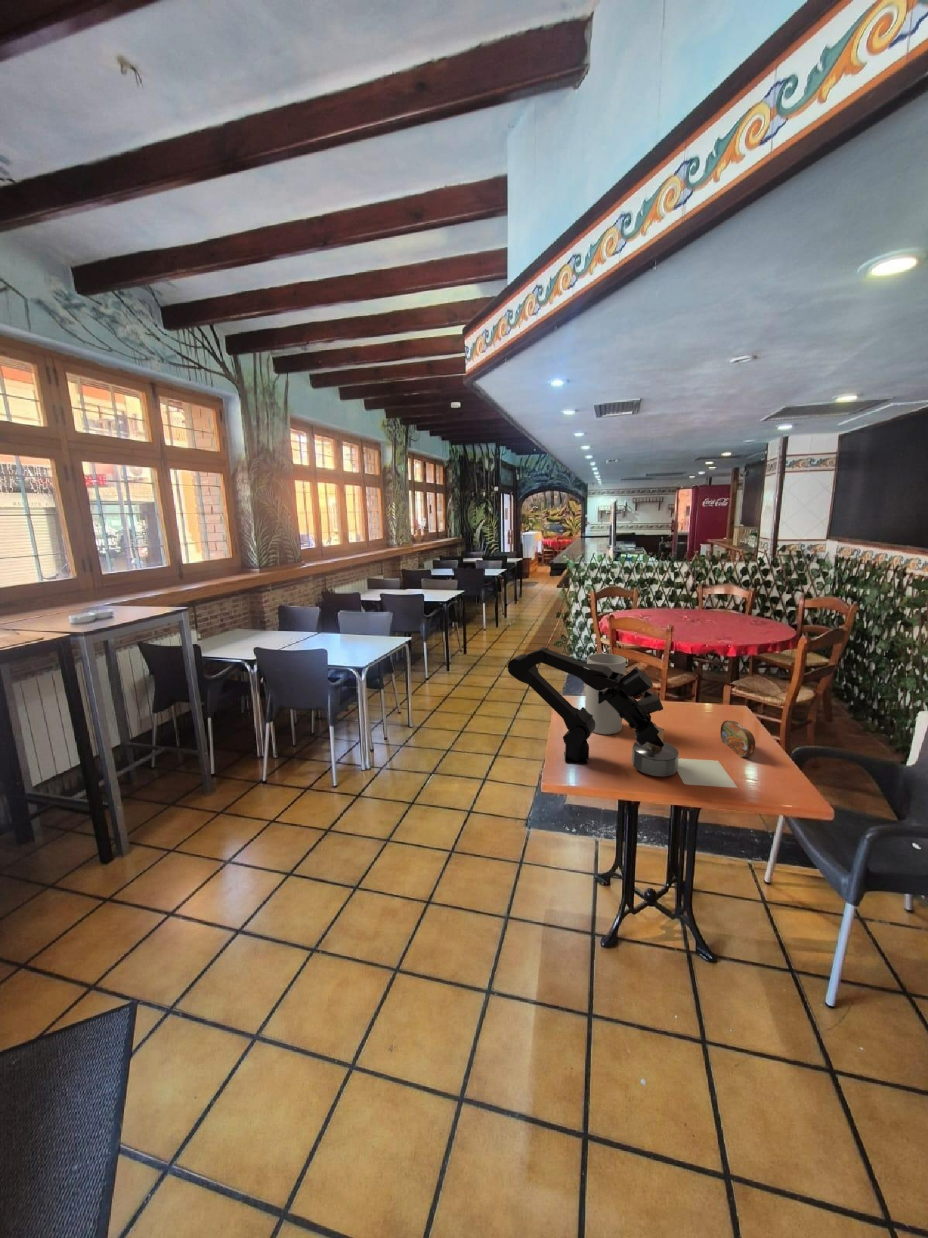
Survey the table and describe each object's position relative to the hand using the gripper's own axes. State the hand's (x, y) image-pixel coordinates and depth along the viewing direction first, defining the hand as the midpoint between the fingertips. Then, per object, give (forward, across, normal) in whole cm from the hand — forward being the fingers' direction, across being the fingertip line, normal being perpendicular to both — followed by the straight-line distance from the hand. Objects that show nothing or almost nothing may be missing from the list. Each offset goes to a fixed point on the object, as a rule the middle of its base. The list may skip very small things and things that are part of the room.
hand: (661, 742), depth 140 cm
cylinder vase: (-2, +28, +15) cm, 32 cm away
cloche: (+4, 0, +6) cm, 7 cm away
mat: (+14, 0, -2) cm, 14 cm away
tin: (+25, +16, -13) cm, 32 cm away
